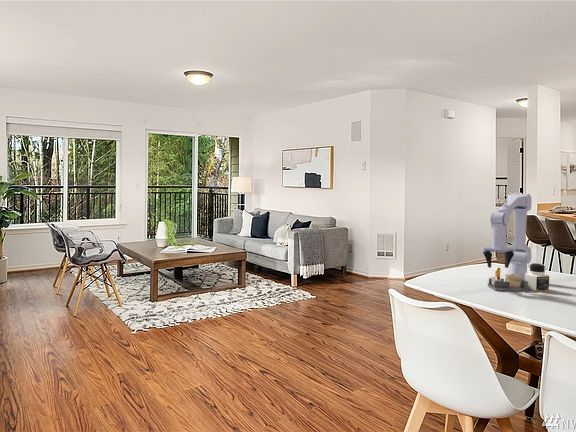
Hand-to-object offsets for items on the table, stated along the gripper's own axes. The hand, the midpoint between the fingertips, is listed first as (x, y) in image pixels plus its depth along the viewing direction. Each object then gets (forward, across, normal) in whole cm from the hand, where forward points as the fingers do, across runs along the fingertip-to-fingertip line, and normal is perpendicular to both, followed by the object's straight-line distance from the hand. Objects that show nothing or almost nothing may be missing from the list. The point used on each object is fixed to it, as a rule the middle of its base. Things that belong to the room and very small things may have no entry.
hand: (497, 267), depth 207 cm
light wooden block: (+9, +7, +2) cm, 11 cm away
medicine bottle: (+10, +18, +1) cm, 21 cm away
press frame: (+10, +5, +2) cm, 12 cm away
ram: (+8, 0, +1) cm, 9 cm away
